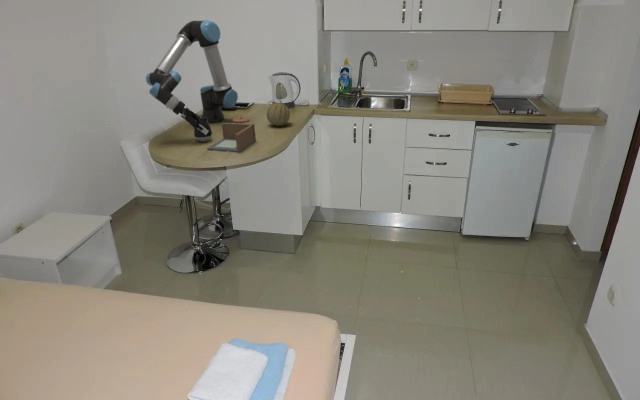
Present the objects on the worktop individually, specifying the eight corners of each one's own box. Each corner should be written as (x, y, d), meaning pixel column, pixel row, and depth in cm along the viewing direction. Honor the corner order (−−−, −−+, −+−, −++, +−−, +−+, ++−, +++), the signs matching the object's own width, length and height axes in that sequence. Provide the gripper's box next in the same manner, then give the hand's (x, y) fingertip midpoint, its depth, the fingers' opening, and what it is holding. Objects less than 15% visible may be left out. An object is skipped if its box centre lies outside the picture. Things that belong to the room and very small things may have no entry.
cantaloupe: (263, 128, 283) (261, 104, 276) (273, 121, 295) (271, 99, 289) (285, 129, 278) (283, 105, 272) (294, 123, 290) (292, 100, 284)
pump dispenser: (204, 144, 257) (200, 118, 250) (191, 141, 262) (187, 116, 255) (216, 139, 265) (213, 114, 258) (204, 137, 270) (200, 112, 263)
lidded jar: (232, 130, 281) (230, 115, 277) (248, 127, 284) (247, 113, 280) (236, 134, 272) (234, 119, 268) (253, 132, 275) (251, 117, 271)
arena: (207, 150, 247) (204, 132, 243) (225, 139, 264) (222, 122, 260) (240, 152, 241) (237, 134, 237) (255, 141, 259) (254, 124, 254)
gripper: (175, 105, 264) (206, 129, 272) (168, 115, 244) (202, 140, 252) (182, 96, 262) (213, 120, 270) (176, 104, 242) (210, 131, 250)
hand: (208, 130), depth 261 cm, fingers closed on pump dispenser, 9 cm apart
